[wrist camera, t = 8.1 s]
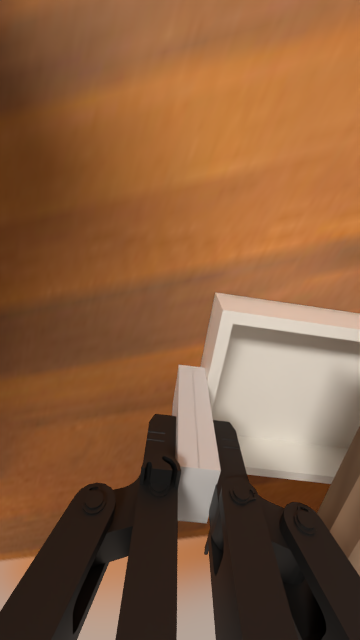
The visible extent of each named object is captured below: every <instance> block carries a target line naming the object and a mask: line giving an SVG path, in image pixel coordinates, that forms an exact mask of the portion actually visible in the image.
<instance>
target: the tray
mask: <svg viewBox="0 0 360 640" xmlns="http://www.w3.org/2000/svg"><path fill="white" fill-rule="evenodd" d="M200 367H202V368H205V373H206V379H207V385H208V392H209V398H210V405H211V411H212V418H213V420H218V421H227V422H230V423H231V425H232V426H233V427H234V429H235V430H236V433H237V437H238V442H239V445H240V450H241V453H242V457H243V461H244V465H245V469H246V473H247V474H248V475H256V476H265V477H274V478H283V479H291V480H300V481H309V482H318V483H326V484H331V483H332V481H333V479H334V477H335V475H336V473H337V471H338V469H339V467H340V465H341V463H342V461H343V459H344V457H345V455H346V453H347V451H348V448H349V446H350V444H351V442H352V440H353V438H354V436H355V434H356V432H357V430H358V428H359V426H360V314H359V313H352V312H346V311H339V310H332V309H325V308H318V307H311V306H305V305H298V304H291V303H284V302H277V301H270V300H264V299H257V298H250V297H243V296H236V295H229V294H223V293H216V292H215V297H214V301H213V306H212V311H211V316H210V321H209V326H208V331H207V336H206V341H205V346H204V351H203V356H202V361H201V366H200Z"/></svg>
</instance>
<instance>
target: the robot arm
mask: <svg viewBox="0 0 360 640" xmlns="http://www.w3.org/2000/svg"><path fill="white" fill-rule="evenodd" d="M208 516H209V520H210V531H209V535H208V538H207V542H206V545H205V552H204V554H205V555H207V554H208V551H209V559H210V572H211V584H212V597H213V608H214V620H215V634H216V640H360V576H359V574H358V573H357V571H356V570H355V568H354V567H353V566H352V564H351V563H350V561H349V560H348V558H347V557H346V555H345V554H344V552H343V551H342V549H341V548H340V546H339V545H338V543H337V542H336V540H335V539H334V537H333V536H332V534H331V533H330V531H329V530H328V528H327V527H326V525H325V524H324V522H323V521H322V519H321V518H320V517H319V516H318V515H317V513H316V512H315V511H314V510H312V509H311V508H310V507H308V506H307V505H304V504H302V503H298V502H292V503H289V504H287V505H286V507H285V508H282V507H280V506H278V505H275V504H273V503H271V502H268V501H267V500H265V499H263V498H262V497H260V496H259V495H258V494H257V491H256V490H255V488H254V487H253V486H252V485H251V484H250V483H249V480H248V477H247V473H246V469H245V465H244V461H243V457H242V453H241V450H240V445H239V442H238V437H237V433H236V430H235V429H234V427H233V426H232V425H231V423H230V422H227V421H218V420H213V418H212V411H211V405H210V398H209V392H208V385H207V379H206V373H205V368H202V367H194V366H186V365H179V368H178V374H177V380H176V387H175V393H174V399H173V409H172V416H169V415H160V414H155V415H154V416H153V418H152V419H151V420H150V422H149V428H148V435H147V441H146V448H145V454H144V461H143V465H142V467H141V474H140V476H139V478H138V479H137V480H136V481H135V482H134V483H132V484H131V485H129V486H127V487H124V488H120V489H115V490H112V489H111V487H109V486H107V485H106V484H102V483H93V484H89V485H87V486H85V487H84V488H82V489H81V490H80V491H79V492H78V493H77V494H76V495H75V497H74V498H73V500H72V501H71V503H70V504H69V506H68V508H67V509H66V511H65V512H64V514H63V515H62V517H61V518H60V520H59V521H58V523H57V525H56V526H55V528H54V529H53V531H52V532H51V534H50V535H49V537H48V538H47V540H46V542H45V543H44V545H43V546H42V548H41V549H40V551H39V552H38V554H37V555H36V557H35V559H34V560H33V562H32V563H31V565H30V566H29V568H28V569H27V571H26V572H25V574H24V576H23V577H22V579H21V580H20V582H19V584H18V585H17V587H16V588H15V589H14V591H13V593H12V594H11V596H10V597H9V599H8V600H7V602H6V604H5V605H4V606H3V608H2V610H1V611H0V640H77V638H78V636H79V633H80V631H81V628H82V626H83V624H84V621H85V619H86V617H87V614H88V612H89V609H90V607H91V605H92V602H93V600H94V597H95V595H96V593H97V590H98V588H99V585H100V583H101V581H102V578H103V576H104V573H105V571H106V569H107V566H108V564H109V562H111V561H114V560H117V559H120V558H123V557H127V556H128V562H127V569H126V575H125V582H124V588H123V595H122V601H121V608H120V614H119V621H118V627H117V634H116V640H176V631H177V628H176V627H177V626H176V625H177V533H178V521H187V522H198V523H207V520H208Z"/></svg>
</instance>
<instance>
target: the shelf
mask: <svg viewBox="0 0 360 640" xmlns="http://www.w3.org/2000/svg"><path fill="white" fill-rule="evenodd" d="M317 515H318V516H319V517H320V518H321V519H322V521H323V522H324V524H325V525H326V527H327V528H328V530H329V531H330V533H331V534H332V536H333V537H334V539H335V540H336V542H337V543H338V545H339V546H340V548H341V549H342V551H343V552H344V554H345V555H346V557H347V558H348V560H349V561H350V563H351V564H352V566H353V567H354V568H355V570H356V571H357V573H358V574H359V576H360V426H359V428H358V430H357V432H356V434H355V436H354V438H353V440H352V442H351V444H350V446H349V448H348V451H347V453H346V455H345V457H344V459H343V461H342V463H341V465H340V467H339V469H338V471H337V473H336V475H335V477H334V479H333V481H332V483H331V485H330V487H329V489H328V491H327V494H326V496H325V498H324V500H323V502H322V504H321V506H320V508H319V510H318V512H317Z"/></svg>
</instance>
